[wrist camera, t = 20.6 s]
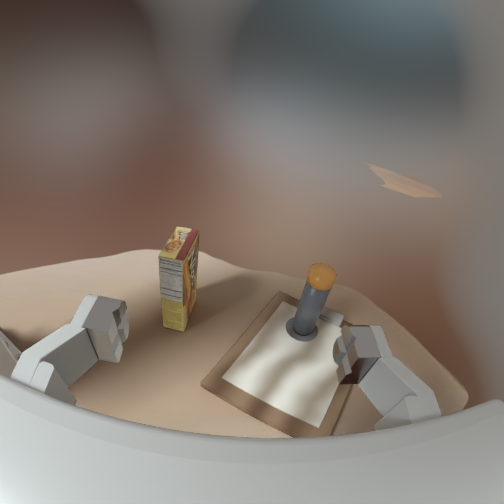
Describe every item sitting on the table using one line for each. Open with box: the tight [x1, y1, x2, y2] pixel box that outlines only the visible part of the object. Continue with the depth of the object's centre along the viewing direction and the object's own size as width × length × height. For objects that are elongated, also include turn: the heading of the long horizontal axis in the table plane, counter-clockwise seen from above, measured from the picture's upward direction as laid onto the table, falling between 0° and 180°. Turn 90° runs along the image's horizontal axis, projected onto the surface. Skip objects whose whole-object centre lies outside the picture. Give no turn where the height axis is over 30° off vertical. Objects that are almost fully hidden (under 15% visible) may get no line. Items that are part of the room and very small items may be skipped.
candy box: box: [158, 227, 199, 332], centre depth 47 cm, size 9×4×15 cm, turn 175°
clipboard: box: [201, 291, 353, 438], centre depth 45 cm, size 20×26×2 cm
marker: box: [292, 263, 337, 336], centre depth 46 cm, size 4×4×13 cm
